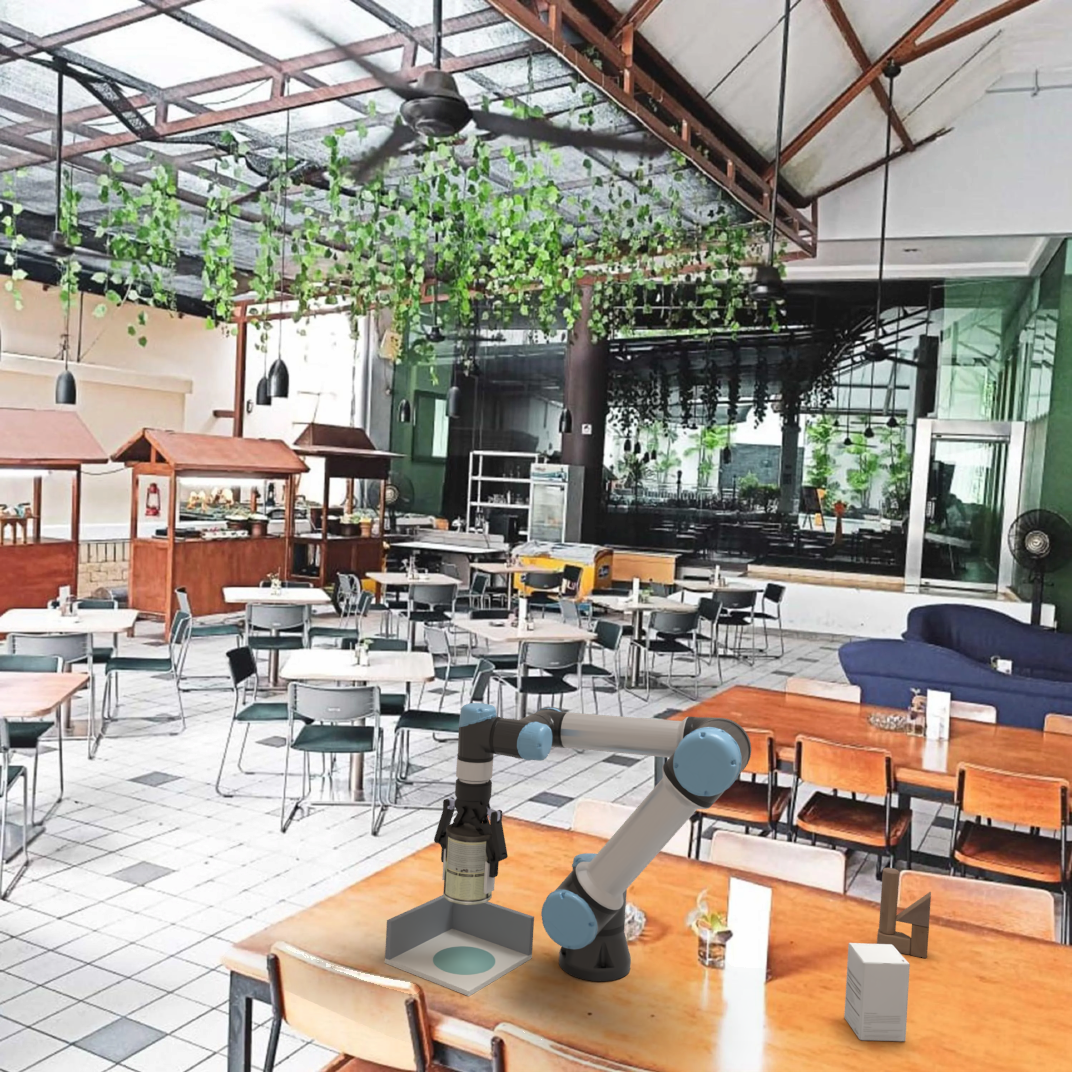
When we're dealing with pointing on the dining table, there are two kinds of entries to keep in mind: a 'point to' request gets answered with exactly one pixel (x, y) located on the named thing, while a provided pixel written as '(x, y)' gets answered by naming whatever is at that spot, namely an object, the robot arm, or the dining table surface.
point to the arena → (459, 943)
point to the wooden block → (903, 918)
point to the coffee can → (465, 865)
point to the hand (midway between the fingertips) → (468, 884)
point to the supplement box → (877, 992)
